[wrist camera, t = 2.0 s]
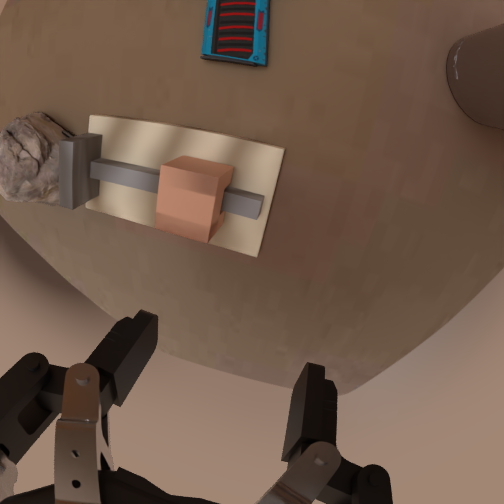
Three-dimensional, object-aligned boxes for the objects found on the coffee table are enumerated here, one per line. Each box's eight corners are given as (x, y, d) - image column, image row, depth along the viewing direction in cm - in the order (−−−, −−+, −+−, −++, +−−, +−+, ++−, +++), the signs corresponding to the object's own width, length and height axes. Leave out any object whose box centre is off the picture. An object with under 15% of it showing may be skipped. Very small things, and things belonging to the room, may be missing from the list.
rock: (108, 148, 30) (44, 170, 22) (78, 227, 36) (26, 263, 27) (35, 96, 29) (-24, 106, 20) (15, 170, 34) (-36, 193, 26)
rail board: (285, 147, 27) (277, 158, 22) (259, 252, 32) (246, 282, 27) (96, 114, 29) (60, 120, 23) (91, 204, 34) (59, 222, 29)
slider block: (233, 166, 27) (218, 178, 23) (222, 224, 30) (207, 243, 26) (183, 155, 28) (161, 164, 24) (175, 211, 31) (154, 228, 26)
